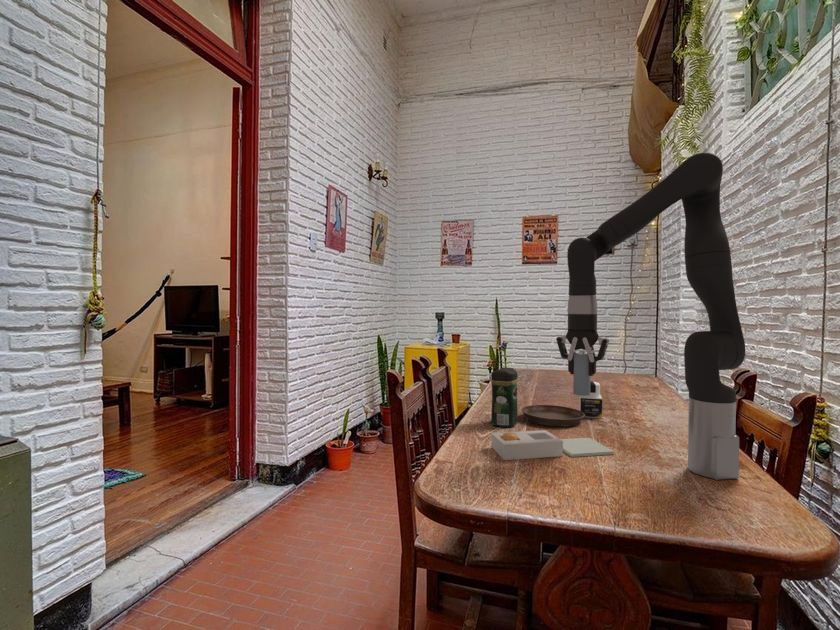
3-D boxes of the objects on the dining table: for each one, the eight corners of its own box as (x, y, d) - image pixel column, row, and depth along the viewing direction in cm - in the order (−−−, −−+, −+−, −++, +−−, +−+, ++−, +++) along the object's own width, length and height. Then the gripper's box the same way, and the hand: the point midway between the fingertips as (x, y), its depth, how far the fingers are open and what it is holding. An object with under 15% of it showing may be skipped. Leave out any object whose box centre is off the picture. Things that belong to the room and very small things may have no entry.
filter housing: (545, 444, 124) (545, 430, 124) (562, 456, 114) (562, 441, 114) (491, 447, 121) (491, 433, 121) (504, 460, 111) (504, 444, 111)
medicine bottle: (580, 417, 153) (580, 383, 153) (579, 412, 160) (579, 379, 160) (602, 418, 151) (602, 384, 151) (600, 413, 158) (600, 380, 158)
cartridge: (592, 393, 121) (592, 350, 120) (587, 396, 117) (588, 352, 117) (575, 391, 123) (576, 349, 123) (571, 394, 120) (571, 351, 119)
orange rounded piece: (513, 443, 119) (513, 432, 119) (519, 447, 115) (519, 436, 115) (501, 444, 118) (501, 432, 118) (506, 448, 115) (506, 436, 115)
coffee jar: (497, 419, 151) (497, 365, 151) (520, 422, 147) (520, 367, 147) (487, 426, 142) (487, 369, 142) (511, 429, 139) (511, 370, 138)
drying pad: (614, 454, 115) (614, 451, 115) (571, 457, 113) (571, 454, 113) (589, 440, 127) (589, 437, 127) (550, 442, 125) (550, 439, 125)
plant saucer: (561, 411, 162) (561, 402, 162) (597, 426, 142) (598, 416, 142) (511, 415, 157) (511, 406, 157) (541, 431, 137) (541, 420, 137)
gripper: (613, 312, 118) (612, 375, 119) (560, 311, 127) (560, 370, 127) (606, 313, 112) (606, 379, 113) (551, 312, 120) (551, 374, 121)
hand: (581, 374), depth 120 cm, fingers closed on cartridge, 4 cm apart
